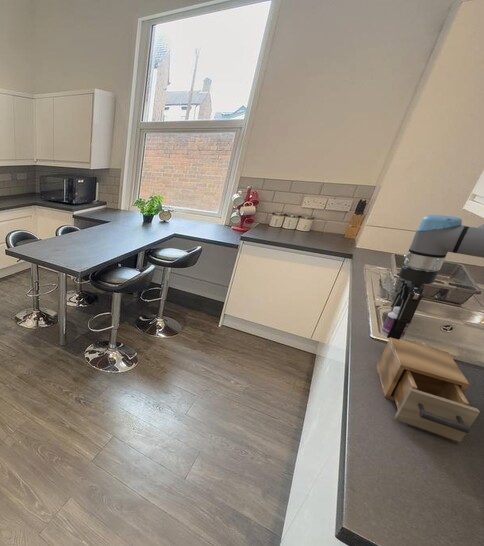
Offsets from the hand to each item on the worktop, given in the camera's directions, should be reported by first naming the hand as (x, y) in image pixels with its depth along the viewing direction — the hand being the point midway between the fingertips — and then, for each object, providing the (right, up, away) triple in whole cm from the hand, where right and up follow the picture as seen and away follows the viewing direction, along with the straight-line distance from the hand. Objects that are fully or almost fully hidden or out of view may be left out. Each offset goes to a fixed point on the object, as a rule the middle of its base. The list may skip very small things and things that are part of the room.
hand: (391, 334), depth 101 cm
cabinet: (-10, -13, -15) cm, 22 cm away
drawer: (-18, -15, -25) cm, 34 cm away
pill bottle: (0, -1, 0) cm, 1 cm away
